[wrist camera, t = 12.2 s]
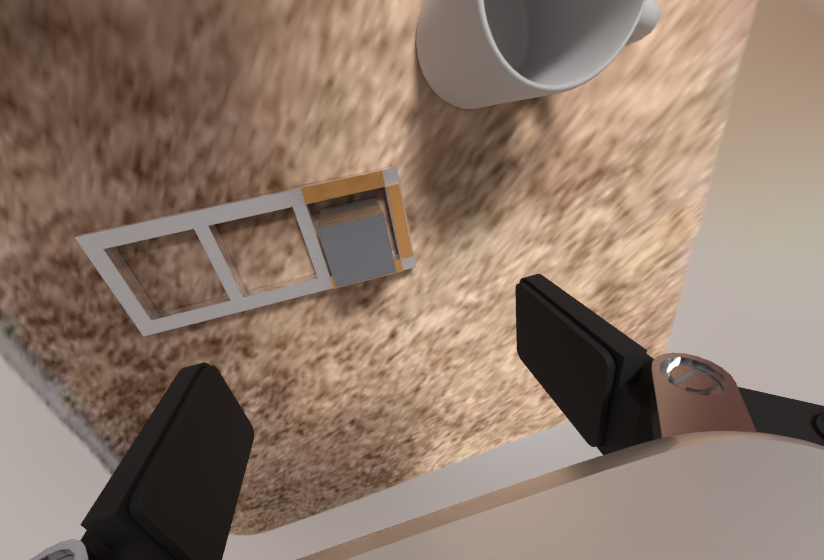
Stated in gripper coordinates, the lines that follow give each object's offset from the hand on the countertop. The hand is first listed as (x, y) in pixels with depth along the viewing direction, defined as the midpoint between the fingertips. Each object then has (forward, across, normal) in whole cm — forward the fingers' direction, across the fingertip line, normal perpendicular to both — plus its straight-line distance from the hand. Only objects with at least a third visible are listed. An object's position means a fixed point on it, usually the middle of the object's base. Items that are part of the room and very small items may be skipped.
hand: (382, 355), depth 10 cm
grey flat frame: (+19, +7, +1) cm, 20 cm away
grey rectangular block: (+19, 0, +1) cm, 19 cm away
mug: (+19, -13, -10) cm, 25 cm away
